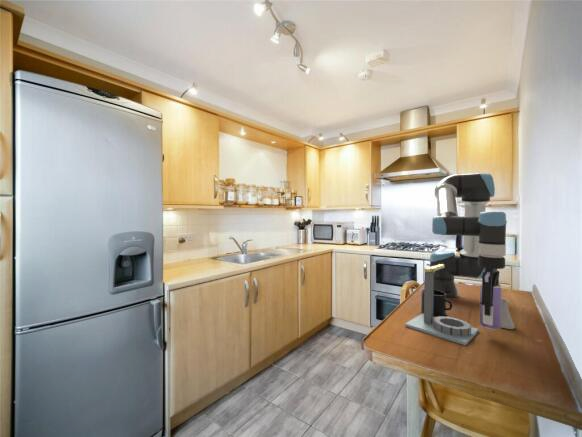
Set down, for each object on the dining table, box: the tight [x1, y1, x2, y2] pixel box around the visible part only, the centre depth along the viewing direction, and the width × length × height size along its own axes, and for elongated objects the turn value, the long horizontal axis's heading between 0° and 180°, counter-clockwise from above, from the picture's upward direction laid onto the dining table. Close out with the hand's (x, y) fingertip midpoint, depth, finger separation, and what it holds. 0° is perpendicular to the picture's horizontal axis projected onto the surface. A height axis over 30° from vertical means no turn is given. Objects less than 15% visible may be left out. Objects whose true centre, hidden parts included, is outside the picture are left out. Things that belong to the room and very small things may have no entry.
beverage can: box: [478, 282, 503, 331], centre depth 92 cm, size 6×6×15 cm
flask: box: [500, 298, 516, 330], centre depth 103 cm, size 7×7×10 cm
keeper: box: [423, 264, 445, 273], centre depth 106 cm, size 4×16×1 cm, turn 132°
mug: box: [420, 289, 453, 317], centre depth 115 cm, size 9×12×9 cm
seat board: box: [404, 272, 479, 346], centre depth 99 cm, size 16×20×20 cm
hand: (489, 321), depth 92 cm, fingers closed on beverage can, 6 cm apart
